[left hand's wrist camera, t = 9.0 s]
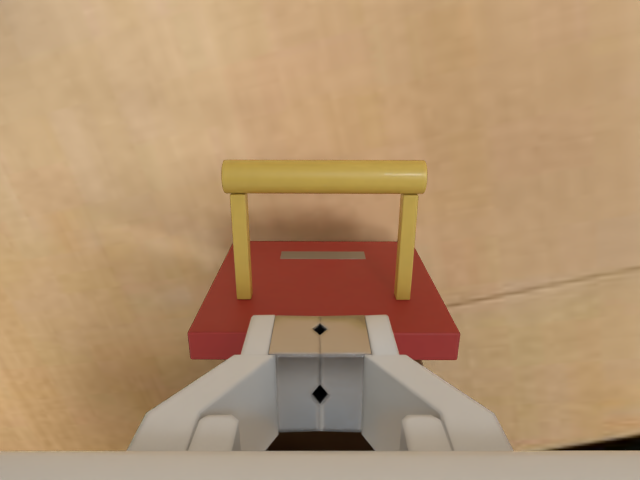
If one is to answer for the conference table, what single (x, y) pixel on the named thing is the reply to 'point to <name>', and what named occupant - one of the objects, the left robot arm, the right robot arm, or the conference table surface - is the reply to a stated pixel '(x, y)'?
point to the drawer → (324, 273)
